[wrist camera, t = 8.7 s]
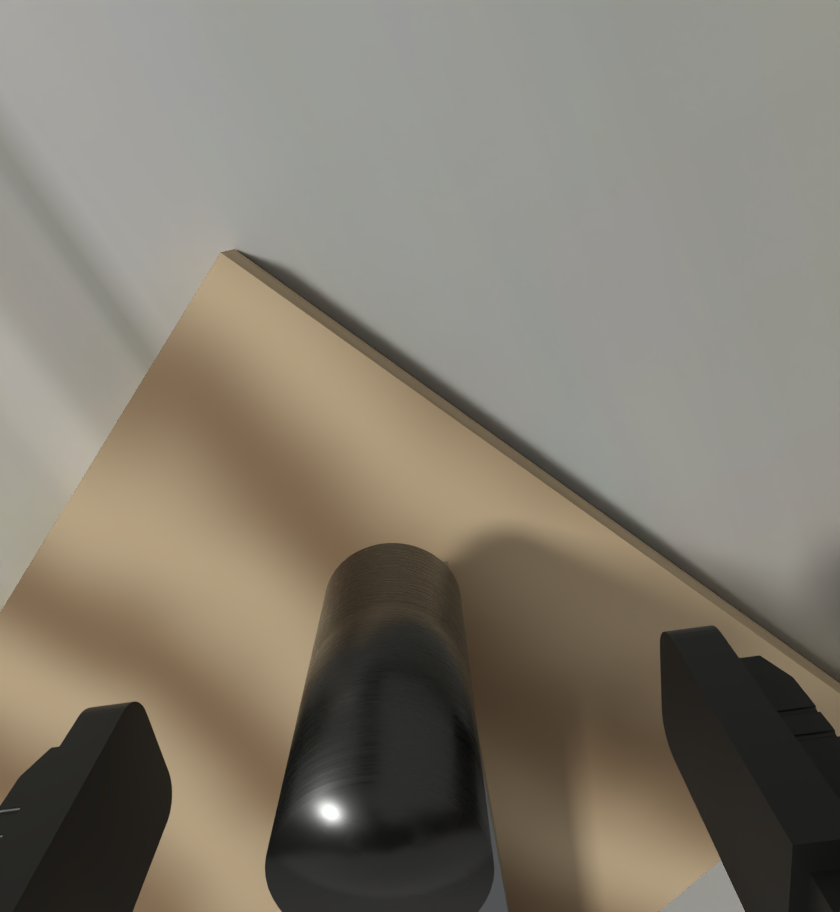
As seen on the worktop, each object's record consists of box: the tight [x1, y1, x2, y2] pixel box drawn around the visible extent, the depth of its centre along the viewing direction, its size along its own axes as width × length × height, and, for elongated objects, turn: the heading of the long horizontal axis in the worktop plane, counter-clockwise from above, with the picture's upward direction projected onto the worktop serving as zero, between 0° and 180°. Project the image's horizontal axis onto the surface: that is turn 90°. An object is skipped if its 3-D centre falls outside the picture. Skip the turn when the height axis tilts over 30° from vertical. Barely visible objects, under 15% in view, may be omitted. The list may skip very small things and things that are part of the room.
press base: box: [0, 249, 840, 912], centre depth 19 cm, size 23×21×4 cm
